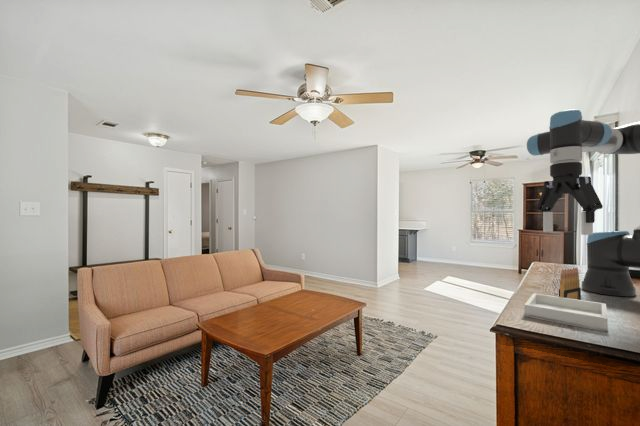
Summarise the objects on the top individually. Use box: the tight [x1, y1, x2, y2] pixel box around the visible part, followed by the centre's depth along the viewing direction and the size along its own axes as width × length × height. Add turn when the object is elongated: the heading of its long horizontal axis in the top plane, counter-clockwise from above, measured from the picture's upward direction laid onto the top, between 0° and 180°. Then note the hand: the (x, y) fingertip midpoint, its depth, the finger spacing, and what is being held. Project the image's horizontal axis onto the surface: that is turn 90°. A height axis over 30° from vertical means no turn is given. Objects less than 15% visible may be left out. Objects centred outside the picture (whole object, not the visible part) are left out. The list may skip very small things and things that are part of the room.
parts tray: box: [523, 292, 609, 333], centre depth 91 cm, size 18×18×4 cm
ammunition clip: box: [558, 267, 582, 300], centre depth 104 cm, size 11×2×12 cm, turn 116°
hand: (566, 233), depth 92 cm, fingers open, 13 cm apart
